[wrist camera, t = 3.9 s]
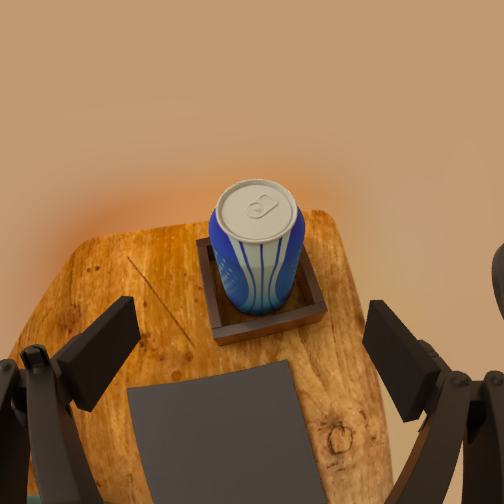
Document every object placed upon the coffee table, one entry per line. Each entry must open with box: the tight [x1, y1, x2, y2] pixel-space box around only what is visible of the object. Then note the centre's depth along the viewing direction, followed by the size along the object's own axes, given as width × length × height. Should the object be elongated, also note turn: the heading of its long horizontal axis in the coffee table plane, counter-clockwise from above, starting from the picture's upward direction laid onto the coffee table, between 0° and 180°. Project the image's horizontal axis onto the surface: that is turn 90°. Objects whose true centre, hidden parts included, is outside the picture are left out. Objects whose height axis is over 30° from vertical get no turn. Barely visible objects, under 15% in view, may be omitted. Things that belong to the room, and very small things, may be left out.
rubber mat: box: [127, 359, 327, 504], centre depth 25 cm, size 20×20×1 cm
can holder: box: [196, 237, 328, 346], centre depth 35 cm, size 13×13×4 cm
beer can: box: [209, 179, 305, 315], centre depth 29 cm, size 8×8×16 cm
